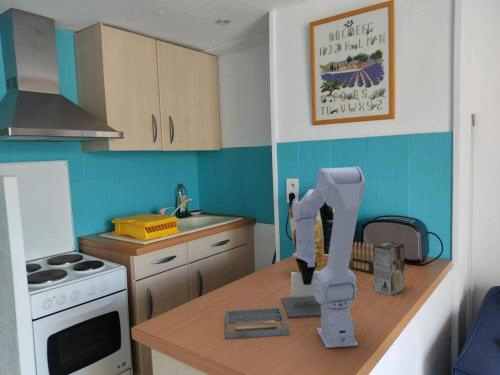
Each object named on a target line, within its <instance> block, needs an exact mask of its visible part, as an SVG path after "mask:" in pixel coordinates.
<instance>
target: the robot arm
mask: <svg viewBox="0 0 500 375" xmlns="http://www.w3.org/2000/svg"><path fill="white" fill-rule="evenodd" d="M363 172H364V171H362V169H361V168H360V167H359V166H352V167H346V166H345V167H329V168H328V167H321V168H320V169H319V171H318V173H317V175H316V185H315V186H314V188H309V189H308V190H307V192H306V193H305V195H303V197H302V198H301V199H300V201H298V200H294V201H293V203H292V206H291V207H292V212H293V217H294V219H295V220H296V253H295V254H294V253H292V257H293V258H294V260H296V262H297V264H298V267H299V271H300V272H301V273H302V278H303V283H304V285H311V282H312V277H313V273H314V270H315V268H316V267H317V263H316V262H315V257H316V254H315V225H316V219H317V215H318V210H320V209H321V208H322V207H323V206H324V205H325V204H326V206H328V207H331V208H332V209H334V214H333V222H332V228H331V229H332V230H331V235H330V243H329V249H328V256H327V262H326V263H327V264H326V266H324V268H323V269H322V270H320V271H319V272H318V273H317V277H316V280H315V282H314V284H313V292H314V295H313V296H315V299H316V300H317V302H318V303H319V304H321V316H320V327H317V328H316V332H317V333H318V335H319V337H320V339H321V340H322V342H323V345H324V346H325V347H326V348H327V349H328V348H329V349H330V348H331V349H332V348H346V347H347V348H348V347H358V346H359V343H358V342H357V340H356V338H355V321H354V318H353V316H352V315H351V312H350V308H351V307H350V306H352V305H353V301H354V300H355V299H356V297H357V293H358V288H357V280H358V278H357V277H356V274H355V273H354V272H353V270H352V271H351V270H350V269H348V268H349V262H350V256H351V250H352V245H353V246H354V238H355V234H356V233H355V232H356V226H357V221H358V216H359V207H360V205H361V204H362V202H363V198H364V193H365V187H366V179H365V175H364V173H363ZM295 257H297V259H295ZM296 262H295V263H296Z"/></svg>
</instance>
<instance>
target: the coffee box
mask: <svg viewBox="0 0 500 375" xmlns="http://www.w3.org/2000/svg"><path fill="white" fill-rule="evenodd" d="M373 250H374V274H373V275H374V276H373V277H374V292H375V293H376V292H377V293H379V294H383V295H387V296H389V297H391V296H393V295H396V294H397V293H399V292H401V291H403V290H405V243H401V242H400V243H399V242H394V241H393V242H392V241H385V242H382V243H379V244H375V245H373Z"/></svg>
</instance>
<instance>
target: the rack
mask: <svg viewBox="0 0 500 375" xmlns="http://www.w3.org/2000/svg"><path fill="white" fill-rule="evenodd" d="M271 320H275V321H281V325H282V327H281V328H280V327H278V329H263V330H249V331H230V326H229V325H230V324H235V323H237V322H254V321H271ZM286 335H287V336H289V335H290V328H289V326H288V323H287V321H286V319H285V316H284V313H283V310H282V308H281V307H267V308H253V309H251V308H250V309H238V310H237V309H235V310H226V311H225V339H226V340H231V339H247V338H259V337H275V336H286Z"/></svg>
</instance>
